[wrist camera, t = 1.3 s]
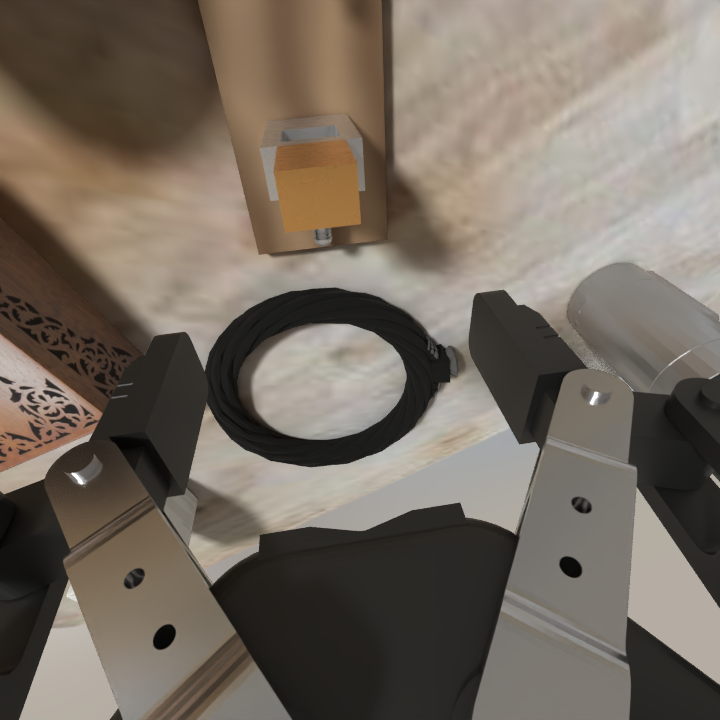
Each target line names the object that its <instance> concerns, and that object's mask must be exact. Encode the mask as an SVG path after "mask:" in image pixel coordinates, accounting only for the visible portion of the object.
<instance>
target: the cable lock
mask: <svg viewBox="0 0 720 720" xmlns="http://www.w3.org/2000/svg"><path fill="white" fill-rule="evenodd" d="M309 323H333V324H351V325H354V326H357V327H360V328H363V329H366V330H369V331H372V332H374V333H376V334H377V335H379V336H380V337H381V338H383V339H384V340H385V341H387V342H388V343H390V344H391V345H392V346H393V347H394V348H395V349H396V351H397V352H398V353H399V354H400V356H401V358H402V360H403V363H404V366H405V370H406V373H407V380H406V384H405V389H404V393H403V395H402V397H401V399H400V400H399V402H398V404H397V405H396V406H395V408H394V409H393V410H392V411H391V412H390V413H389V414H388V415H387V416H386V417H385V418H384V419H382V420H381V421H380V422H378V423H376V424H374V425H373V426H371V427H369V428H368V429H366V430H364V431H362V432H360V433H357V434H354V435H350V436H346V437H343V438H339V439H335V440H298V439H294V438H291V437H287V436H283V435H280V434H277V433H274V432H272V431H269V430H267V429H265V428H264V427H262V426H261V425H260V424H259V423H258V422H257V421H255V420H254V419H253V418H252V417H251V416H250V415H249V414H248V413H247V412H246V411H245V409H244V408H243V407H242V405H241V403H240V400H239V398H238V387H237V379H238V374H239V370H240V367H241V366H242V364H243V362H244V360H245V358H246V357H247V356H248V355H249V354H250V353H251V352H252V351H253V350H254V349H255V348H256V347H257V346H258V345H260V344H261V343H262V342H263V341H264V340H266V339H267V338H269V337H271V336H274V335H276V334H279V333H281V332H283V331H286V330H288V329H291V328H294V327H297V326H301V325H305V324H309ZM457 373H458V361H457V358H456V355H455V352H454V350H453V349H452V348H451V347H450V346H448V347H447V348H446V350H445V351H444V350H443V348H442V346H441V344H440V345H437V346H435V344H434V343H433V342H432V341H431V340H430V339H429V338H428V337H427V336H426V335H425V334H424V333H423V331H422V330H421V329H420V328H419V327H418V326H416V325H415V323H414V322H413V321H412V319H411V318H410V317H409V316H408V315H406V314H405V313H404V312H402V311H401V310H399V309H397V308H395V307H393V306H390V305H388V304H387V303H385V302H384V301H382V300H381V299H380V298H378V297H376V296H372V295H369V294H366V293H358V292H349V291H345V290H342V289H338V288H319V289H309V290H303V291H291V292H288V293H285V294H282V295H279V296H276V297H273V298H270V299H267V300H265V301H263V302H261V303H259V304H257V305H255V306H253V307H252V308H250V309H248V310H247V311H246V312H245V313H244V314H242V315H241V316H239V317H238V318H236V319H235V320H234V321H233V322H232V323H231V324H230V325H229V326H228V327H227V328H226V330H225V331H224V332H223V333H222V334H221V335H220V336H219V338H218V339H217V341H216V343H215V344H214V346H213V348H212V349H211V351H210V353H209V357H208V361H207V365H206V369H205V374H206V377H207V382H208V397H207V401H206V402H207V404H208V406H209V408H210V409H211V411H212V414H213V415H214V417H215V419H216V420H217V422H218V423H219V425H220V426H221V427H222V429H223V430H224V431H225V432H226V433H227V435H228V436H229V437H230V438H231V439H232V440H233V441H234V442H236V443H237V444H238V445H240V446H241V447H242V448H244V449H245V450H247V451H250V452H253V453H255V454H258V455H260V456H262V457H264V458H266V459H268V460H270V461H275V462H281V463H287V464H294V465H298V466H306V467H318V466H327V465H339V464H348V463H351V462H353V461H356V460H359V459H361V458H364V457H366V456H370V455H373V454H376V453H378V452H381V451H383V450H384V449H386V448H387V447H389V446H390V445H391V444H393V443H394V442H396V441H398V440H400V439H401V438H402V437H403V436H404V435H406V434H407V433H408V432H409V431H410V430H412V429H413V428H414V426H415V425H416V423H417V421H418V420H419V418H420V417H421V416H422V415H423V413H424V411H425V410H426V408H427V405H428V402H429V400H430V399H431V397H432V398H434V397H435V395H436V394H437V392H438V391H437V390H438V389H439V387H440V384H441V382H450V374H452V375H454V376H457Z"/></svg>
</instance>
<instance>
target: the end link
mask: <svg viewBox="0 0 720 720" xmlns="http://www.w3.org/2000/svg"><path fill="white" fill-rule="evenodd" d="M260 152H261V157H262V162H263V167H264V172H265V177H266V182H267V187H268V192H269V197H270V201H276V200H279V203H280V208H281V213H282V219H283V224H284V229H285V233H288V232H297V231H306V230H312V232H313V238H314V241H315V243H316V244H317V245H319V246H327V245H329V244H330V242H331V240H332V231H331V228H332V227H341V226H349V225H358V224H361V216H360V201H359V191H365V176H364V159H363V141H362V136H361V135H360V133H359V132H358V130H357V129H356V127H355V126H354V124H353V123H352V121H351V120H350V118H349V117H348V115H347V114H346V113H345V114H335V115H325V116H315V117H305V118H295V119H285V120H275V121H267V124H266V127H265V131H264V135H263V138H262V142H261V145H260Z"/></svg>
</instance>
